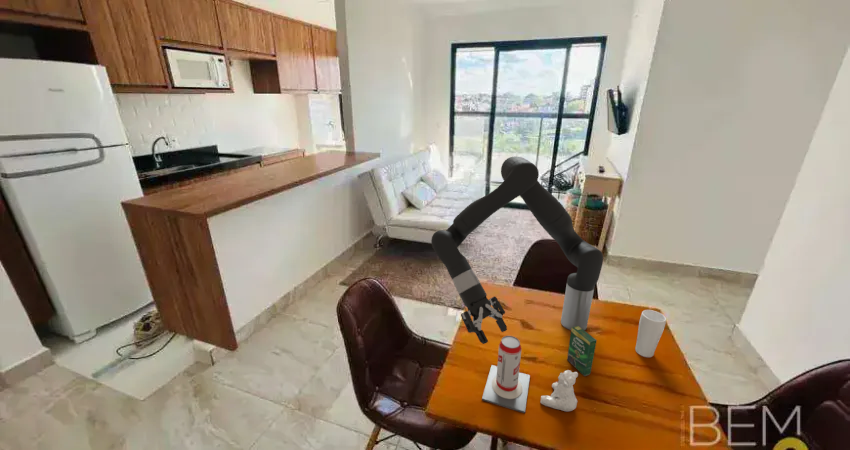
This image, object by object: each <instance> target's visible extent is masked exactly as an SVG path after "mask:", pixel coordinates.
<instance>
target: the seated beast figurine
mask: <svg viewBox="0 0 850 450" xmlns="http://www.w3.org/2000/svg"><path fill="white" fill-rule="evenodd" d="M578 377H579V373H578V371H574V372H572V370H569V369H567V370H564V371H563V372H560V373H559V376H558V377H557V379H558V380H557V381H555V382H553V383H552V384H551V388H552V389H553V392H552V393H551V394H550V395H541V396H540V401H539V402H540V404H541V405H543V406H545V407H548V408H551V409H555V410H558V411H559V410H561V411H562V412H563V411H564V412H572V411H573V410H575V409H576V408H577V406H578V399H577V397H576V394H575V392H574V391H575V390H574V386H575V383H576V380H577V379H576V378H578ZM573 385H574V386H573Z"/></svg>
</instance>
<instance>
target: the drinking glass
mask: <svg viewBox="0 0 850 450" xmlns="http://www.w3.org/2000/svg"><path fill="white" fill-rule="evenodd" d="M666 323H667V317H666V316H665V315H664V314H663V313H661V312H659V311H656V310H652V309H644V310H643V311H641V315H640V319H639V323H638V330H637V337H636V344H635V347H634V349H635V352H636V353H637V354H638V355H640V356H641V357H644V358H652V357H653V356H655V351H656V350H657V347H658V345H659V341H660V339H661V337H662V335H663V332H664V329H665V326H666Z"/></svg>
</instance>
